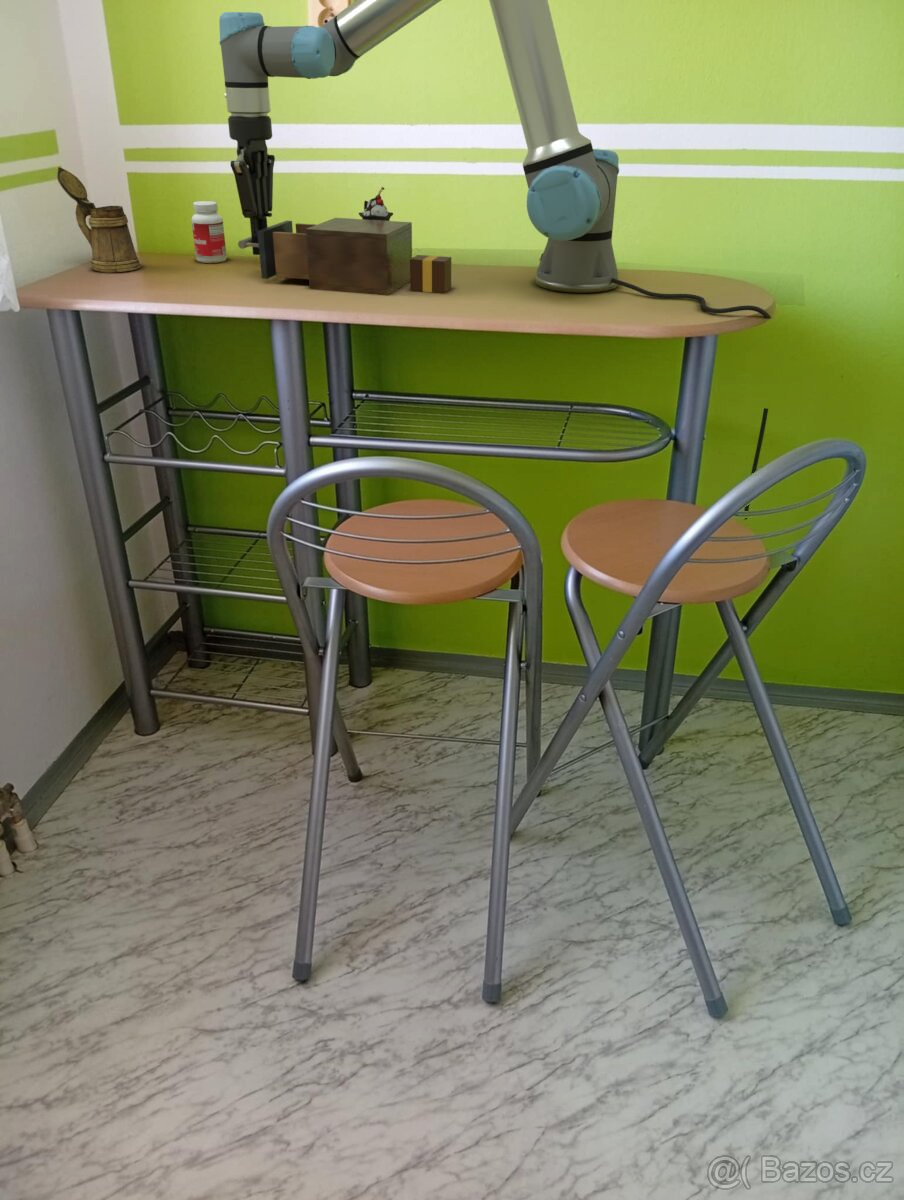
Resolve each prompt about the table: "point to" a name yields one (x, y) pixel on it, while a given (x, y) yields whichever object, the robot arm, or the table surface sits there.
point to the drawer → (282, 250)
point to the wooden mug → (102, 229)
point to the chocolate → (430, 273)
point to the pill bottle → (208, 233)
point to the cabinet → (359, 255)
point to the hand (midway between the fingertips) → (261, 254)
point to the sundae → (375, 209)
